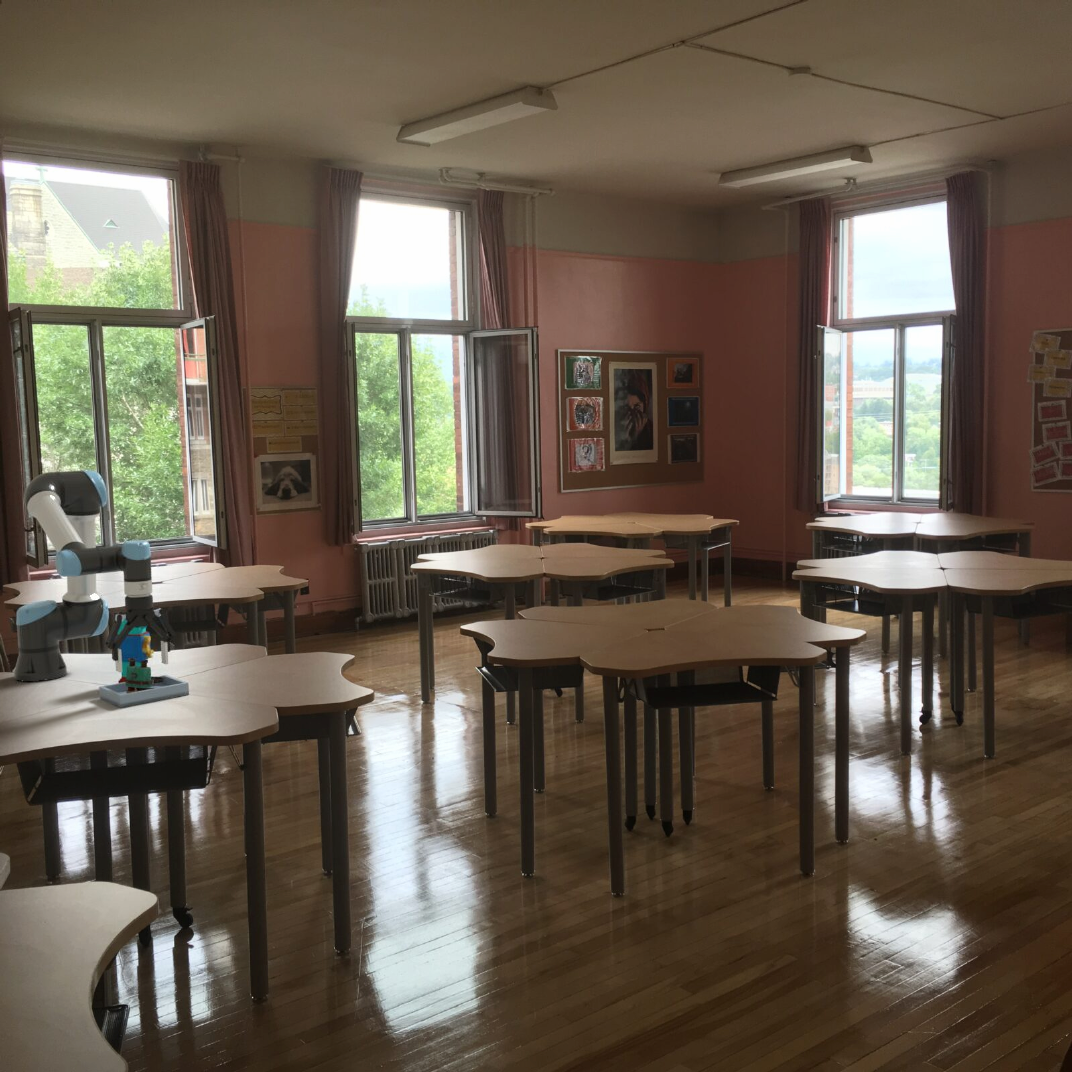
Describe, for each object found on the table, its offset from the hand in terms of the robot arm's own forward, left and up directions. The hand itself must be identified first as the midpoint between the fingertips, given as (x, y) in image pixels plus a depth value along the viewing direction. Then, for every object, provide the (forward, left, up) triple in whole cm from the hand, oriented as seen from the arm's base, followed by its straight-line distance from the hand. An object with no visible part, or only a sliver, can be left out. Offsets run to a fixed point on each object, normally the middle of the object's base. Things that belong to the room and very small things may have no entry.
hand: (142, 667), depth 313 cm
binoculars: (0, 0, -8) cm, 8 cm away
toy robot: (-16, +4, -9) cm, 18 cm away
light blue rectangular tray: (0, 0, -9) cm, 9 cm away
